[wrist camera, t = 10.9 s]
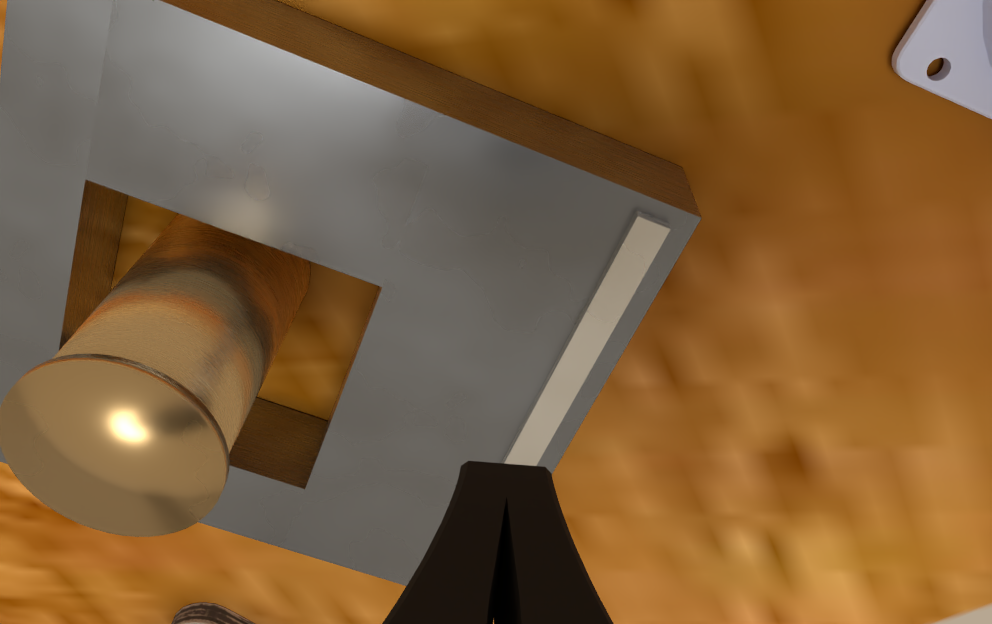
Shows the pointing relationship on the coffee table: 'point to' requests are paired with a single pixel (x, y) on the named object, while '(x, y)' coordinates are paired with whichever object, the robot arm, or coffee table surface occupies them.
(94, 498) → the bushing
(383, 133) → the jig
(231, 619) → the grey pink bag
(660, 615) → the coffee table surface
